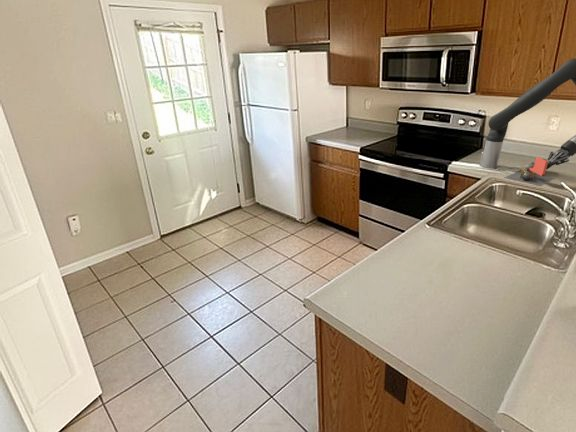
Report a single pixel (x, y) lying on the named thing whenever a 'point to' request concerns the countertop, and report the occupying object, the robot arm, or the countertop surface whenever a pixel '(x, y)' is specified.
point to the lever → (538, 166)
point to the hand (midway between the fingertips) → (544, 168)
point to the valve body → (527, 174)
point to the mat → (536, 180)
